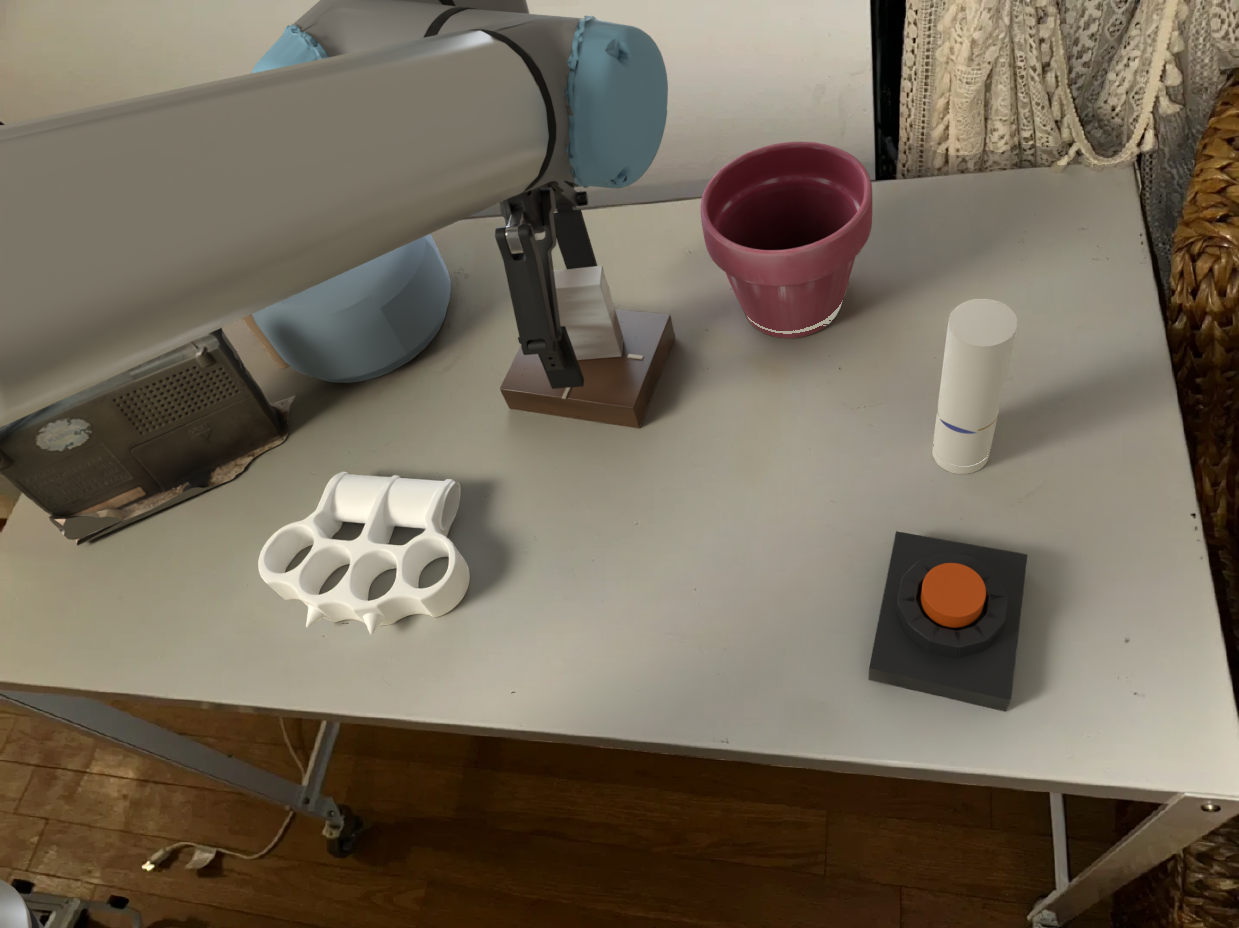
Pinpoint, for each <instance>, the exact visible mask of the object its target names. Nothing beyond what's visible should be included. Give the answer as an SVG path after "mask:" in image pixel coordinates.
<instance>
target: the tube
mask: <svg viewBox="0 0 1239 928" xmlns="http://www.w3.org/2000/svg"><path fill="white" fill-rule="evenodd" d="M947 322H948V323H947V328H946V337H945V345H944V354H943V361H942V367H941V377H940V385H939V393H938V401H937V409H936V417H935V425H934V432H933V439H932V445H933V444H934V447H933V446H932V448H931V449H932V450H931V453H932V454H931V455H932V457H933V459H934V461H935V463H936V464H937V465H938V466H939V467H940V468H941V469H943V470H945V471H947V472H949V473H952V474H955V475H956V474H957V475H968V474H969V475H970V474H973V473H976V472H978V471H979V470H981V469H983V468H984V467H985V465H987V464H988V461H989V459H990V455H991V450H990V449H992V444H993V440H994V435H995V431H996V426H997V423H998V422H997V421H998V416H999V413H1000V412H999V411H1000V407H1001V403H1002V399H1003V394H1004V390H1005V385H1006V380H1007V375H1008V370H1009V365H1010V361H1011V358H1012V351H1013V348H1014V344H1015V343H1014V342H1015V339H1016V333H1017V328H1018V318H1017V316H1016V314H1015V312H1014V311H1013V310H1012V309H1011V308H1010V307H1009V306H1008V305H1006V304H1004V303H1003V302H1001V301H998V300H994V299H991V298H974V299H969V300H966V301H964V302H961V303H959V305H957V306H956V307H955V308H953V309H952V311H951V312H950V314H949V316H948V321H947ZM934 449H935V450H934ZM935 451H936V452H935ZM989 452H990V453H989ZM936 453H937V454H936ZM988 454H989V455H988ZM937 455H938V456H939V457H940V458H942V459H943V460H944V461H946V462H948V463H951V464H954V465H957V466H953V465H950V464H948V463H946V462H944V461H943V460H941V459H940V458H939V457H938V456H937ZM987 455H988V456H987ZM986 457H987V458H986ZM984 458H986V459H985V460H984V461H982V460H983V459H984ZM980 461H982V462H981V463H979V462H980ZM976 463H979V464H977V465H974V464H976ZM970 465H974V466H970ZM958 466H970V467H958Z"/></svg>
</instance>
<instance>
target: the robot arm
mask: <svg viewBox="0 0 1239 928" xmlns="http://www.w3.org/2000/svg"><path fill="white" fill-rule="evenodd" d="M583 17H584V18H583ZM583 17H572V16H571V17H570V16H562V15H561V16H560V15H547V14H536V13H530V9H529V6H528V2H527V0H318V1H317V3H315V4H314V5H312V7H310V9H308V11H306V12H305V13H304V14H302V15H301V16H300V17H299V18H298V19H297V20H296V21H295V22H293V23H292V24H288V25H287V26H286V27H285V28H284V31H283V33H282V35H281V36H280V37H279V38H278V39H277V40H276V41H275V43H273V45H272V46H271V47H270V48H268V50H267V51H265V53H264V54H263V55H262V57H260V58H259V60H258V61H257V62H256V63H255V64H254V66H253V68H252V70H251V73H247V74H242V75H238V76H232V77H228V78H223V79H219V80H214V81H209V82H203V83H198V84H194V85H190V86H185V87H180V88H175V89H170V90H165V91H160V92H156V93H150V94H146V95H140V96H136V97H131V98H126V99H122V100H116V101H112V102H107V103H103V104H97V105H93V106H88V107H82V108H78V109H74V110H69V111H63V112H58V113H54V114H48V115H45V116H39V117H35V118H30V119H25V120H21V121H16V122H11V123H6V124H1V125H0V427H2V426H5V425H7V424H9V423H11V422H13V421H16V420H18V419H20V418H22V417H25V416H27V415H29V414H31V413H33V412H36V411H38V410H40V409H42V408H44V407H47V406H49V405H51V404H53V403H56V402H58V401H60V400H62V399H64V398H67V397H69V396H71V395H73V394H76V393H78V392H80V391H82V390H84V389H87V388H89V387H91V386H93V385H96V384H98V383H100V382H102V381H104V380H107V379H109V378H111V377H113V376H116V375H118V374H120V373H122V372H124V371H127V370H129V369H131V368H133V367H135V366H138V365H140V364H142V363H144V362H147V361H149V360H151V359H153V358H155V357H158V356H160V355H162V354H164V353H167V352H169V351H171V350H173V349H175V348H178V347H180V346H182V345H184V344H187V343H189V342H191V341H193V340H195V339H198V338H200V337H202V336H204V335H207V334H209V333H211V332H213V331H215V330H218V329H220V328H222V329H223V328H224V327H226V326H228V325H231V324H233V323H235V322H238V321H240V320H243V319H242V318H244V317H246V316H249V315H251V314H253V313H255V312H258V311H260V310H262V309H264V308H266V307H269V306H271V305H273V304H275V303H278V302H280V301H282V300H284V299H286V298H289V297H291V296H293V295H295V294H298V293H300V292H302V291H304V290H306V289H309V288H311V287H313V286H315V285H317V284H320V283H322V282H324V281H326V280H329V279H331V278H333V277H335V276H337V275H340V274H342V273H344V272H346V271H349V270H351V269H353V268H355V267H357V266H360V265H362V264H364V263H366V262H369V261H371V260H373V259H375V258H377V257H380V256H382V255H384V254H386V253H389V252H391V251H393V250H395V249H397V248H400V247H402V246H404V245H406V244H408V243H411V242H413V241H415V240H417V239H420V238H422V237H424V236H426V235H428V234H431V235H432V234H433V233H435V232H437V231H440V230H442V229H444V228H446V227H448V226H450V225H453V224H454V223H455V224H456V223H457V222H459V221H462V220H464V219H466V218H468V217H471V216H473V215H475V214H477V213H479V212H481V211H484V210H486V209H489V208H491V207H493V206H495V205H497V204H499V209H500V214H501V216H502V218H503V219H504V223H505V226H498V227H495V230H494V238H495V240H496V241H495V242H496V244H497V247H498V249H499V253H500V256H501V258H502V261H503V266H504V271H505V275H506V276H505V277H506V280H507V285H508V289H509V290H508V291H509V293H510V299H511V304H512V309H513V313H514V318H515V323H516V327H517V332H518V337H517V341H518V343H519V345H520V346H521V349H522V351H523V354H524V355H533V354H538V355H539V358H540V360H541V363H542V365H543V368H544V370H545V373H546V375H547V378H548V380H549V382H550V385H551V387H552V389H557V388H570V387H582V386H584V377H583V375H582V372H581V369H580V366H579V363H578V361H577V358H576V355H575V352H574V349H573V347H572V344H571V341H570V338H569V335H568V333H567V330H566V327H565V326H560V318H559V310H558V301H557V293H556V285H555V277H554V271H555V269H554V261H553V255H552V251H553V249H555V248H556V247H557V244H558V247H559V251H560V254H561V256H562V259H563V262H564V265H565V270H566V269H575V268H585V267H595V266H598V262H597V259H596V256H595V252H594V249H593V246H592V242H591V239H590V236H589V231H588V228H587V225H586V222H585V219H584V215H583V212H582V209H578V208H577V207H584V206H588V205H589V195H588V192H587V190H583V191H577V190H575V188H579V187H580V188H581V187H582V188H584V189H589V188H590V187H594V188H604V189H623V188H626V187H629V186H631V185H633V184H635V183H637V182H638V181H639V180H640V179H641V178H642V177H643V176H644V175H645V174H646V173H647V172H648V170H649V168H650V167H651V165H652V163H653V162H654V160H655V159H656V156H657V154H658V151H659V150H660V146H661V144H662V142H663V141H662V140H663V137H664V133H665V129H666V125H667V117H668V103H669V102H668V95H669V83H668V81H669V80H668V74H667V67H666V65H665V60H664V57H663V55H662V51H661V50H660V49H659V47H658V45H657V43H656V41H655V40H654V39H653V38H652V37H651V35H649V34H648V33H647V32H645V31H644V30H642V29H641V28H639V27H637V26H635V25H629V24H623V23H618V22H612V21H606V20H602V19H597V18H596V17H595V16H594V15H584V16H583ZM543 233H544V237H543V238H541V239H538V235H537V234H543ZM0 928H45V927H44V925H43V924H42V922H41V921H40V920H39V918H38V917H37V916H36V914H35V913H34V911H33V910H32V908H31V907H30V906H29V905H28V904H27V902H26V901H25V899H24V898H23V897H22V895H21V894H20V893H19V892H18V890H16V888H15V887H13V886H12V885H11V884H9V883H8V882H7V881H5V880H3V879H1V878H0Z"/></svg>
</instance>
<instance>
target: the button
mask: <svg viewBox="0 0 1239 928" xmlns="http://www.w3.org/2000/svg"><path fill="white" fill-rule="evenodd" d="M985 598H986V588H985V584H984V582H983V580H982V578H981V577H980V576H979V575H978V574H977V573H976V572H975V571H974V570H973V569H971V568H969V567H967V566H965V565H962V564H958V563H945V564H941V565H938V566H936V567H934V568H933V569H931V570H930V571H929V572H928V573H927V575H926V576H925V578H924V580H923V585H922V592H921V604H922V607H923V609H924V611H925V613H926V614H927V615H928V616H929V618H931V619H932V620H933V621H935V622H936V623H938V624H940V625H942V626H946V627H951V628H958V627H964V626H967V625H969V624H971V623H973V622H974V621H975V620H976V619H977V618H978V617H979V616H980V614H981V612H982V609H983V605H984V602H985Z"/></svg>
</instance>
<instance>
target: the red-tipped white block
mask: <svg viewBox="0 0 1239 928" xmlns="http://www.w3.org/2000/svg"><path fill="white" fill-rule="evenodd" d="M554 277H555V285H556V293H557V301H558V310H559V318H560V326H565V327H566V330H567V333H568V335H569V338H570V341H571V344H572V347H573V349H574V352H575V355H576V358H577V360H586V359H598V358H610V357H621V356H622V351H623V340H624V338H623V335H622V331H621V328H620V324H619V321H618V318H617V314H616V311H615V309H616V307H615V303H614V301H613V297H612V294H611V289H610V287H609V284H608V281H607V276H606V273H605V269H604V266H603V265H597V266H595V267H585V268H575V269H566V268H565V269H558V270H554Z"/></svg>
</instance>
